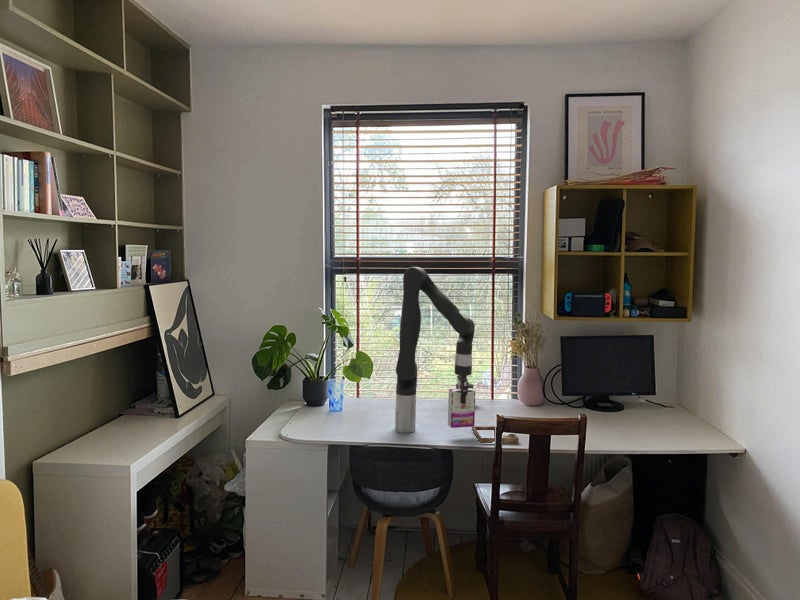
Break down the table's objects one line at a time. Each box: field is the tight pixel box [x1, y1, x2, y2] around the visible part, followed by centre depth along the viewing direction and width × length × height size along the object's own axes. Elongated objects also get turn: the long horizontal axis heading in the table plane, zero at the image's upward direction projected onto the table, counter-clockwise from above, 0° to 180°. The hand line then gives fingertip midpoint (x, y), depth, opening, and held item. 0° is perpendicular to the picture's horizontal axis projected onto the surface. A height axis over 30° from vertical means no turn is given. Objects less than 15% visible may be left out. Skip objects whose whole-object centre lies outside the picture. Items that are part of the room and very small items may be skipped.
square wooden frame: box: [471, 425, 520, 445], centre depth 244 cm, size 17×17×2 cm
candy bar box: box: [447, 388, 476, 429], centre depth 242 cm, size 11×5×16 cm, turn 105°
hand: (461, 401), depth 242 cm, fingers closed on candy bar box, 5 cm apart
